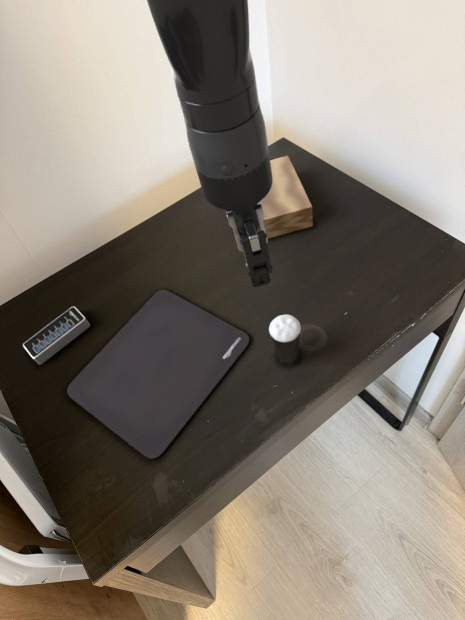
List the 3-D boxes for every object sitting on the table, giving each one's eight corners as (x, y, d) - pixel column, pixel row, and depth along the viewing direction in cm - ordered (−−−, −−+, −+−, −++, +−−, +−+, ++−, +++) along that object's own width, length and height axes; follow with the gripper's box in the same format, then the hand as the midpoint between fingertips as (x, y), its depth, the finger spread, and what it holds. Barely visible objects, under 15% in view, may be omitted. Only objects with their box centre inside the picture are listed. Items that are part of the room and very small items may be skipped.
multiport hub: (28, 351, 84) (21, 344, 82) (78, 312, 87) (73, 305, 85) (39, 365, 82) (33, 359, 80) (91, 325, 85) (86, 318, 83)
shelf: (289, 175, 100) (286, 142, 93) (313, 226, 90) (311, 194, 84) (234, 190, 100) (228, 158, 93) (252, 243, 90) (246, 212, 84)
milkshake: (291, 377, 73) (286, 343, 65) (268, 355, 76) (261, 320, 68) (312, 358, 74) (310, 323, 66) (289, 338, 77) (284, 302, 69)
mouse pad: (154, 464, 68) (154, 463, 68) (63, 391, 78) (62, 391, 78) (253, 337, 78) (253, 337, 78) (161, 287, 87) (161, 286, 87)
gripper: (286, 185, 42) (298, 293, 55) (250, 102, 51) (268, 213, 64) (205, 208, 43) (236, 310, 56) (183, 122, 51) (215, 228, 64)
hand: (253, 258), depth 60 cm, fingers open, 8 cm apart
